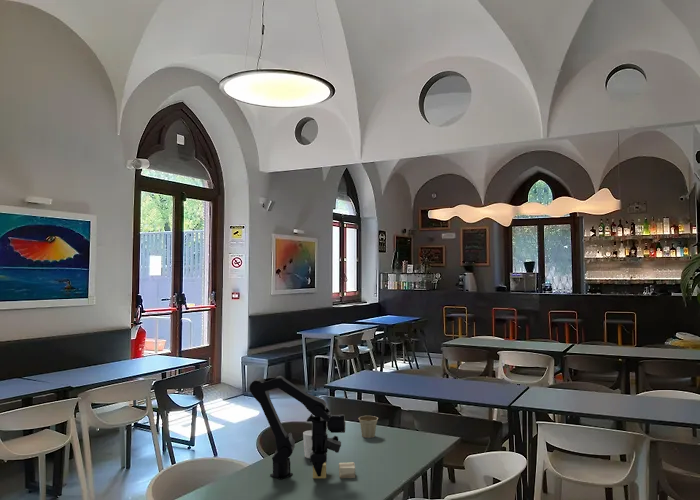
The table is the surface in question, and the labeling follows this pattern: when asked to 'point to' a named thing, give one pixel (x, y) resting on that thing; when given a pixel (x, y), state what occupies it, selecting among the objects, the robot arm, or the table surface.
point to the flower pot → (368, 426)
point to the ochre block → (323, 472)
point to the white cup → (307, 443)
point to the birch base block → (347, 470)
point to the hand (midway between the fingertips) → (319, 473)
